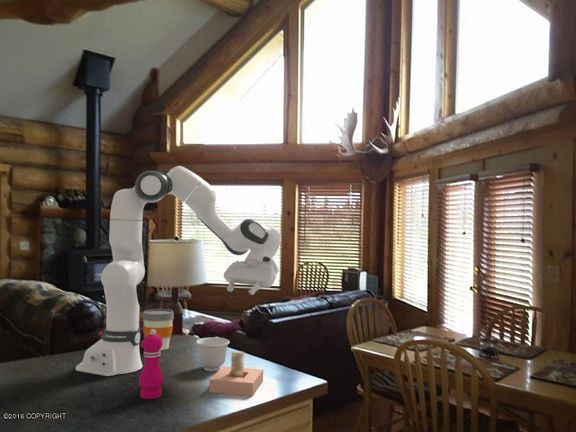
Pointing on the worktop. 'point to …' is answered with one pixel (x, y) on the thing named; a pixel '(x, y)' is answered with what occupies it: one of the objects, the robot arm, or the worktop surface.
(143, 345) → the pepper mill
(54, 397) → the worktop surface
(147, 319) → the reusable coffee cup
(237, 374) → the maple pin
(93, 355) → the robot arm
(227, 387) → the socket block
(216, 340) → the teacup
